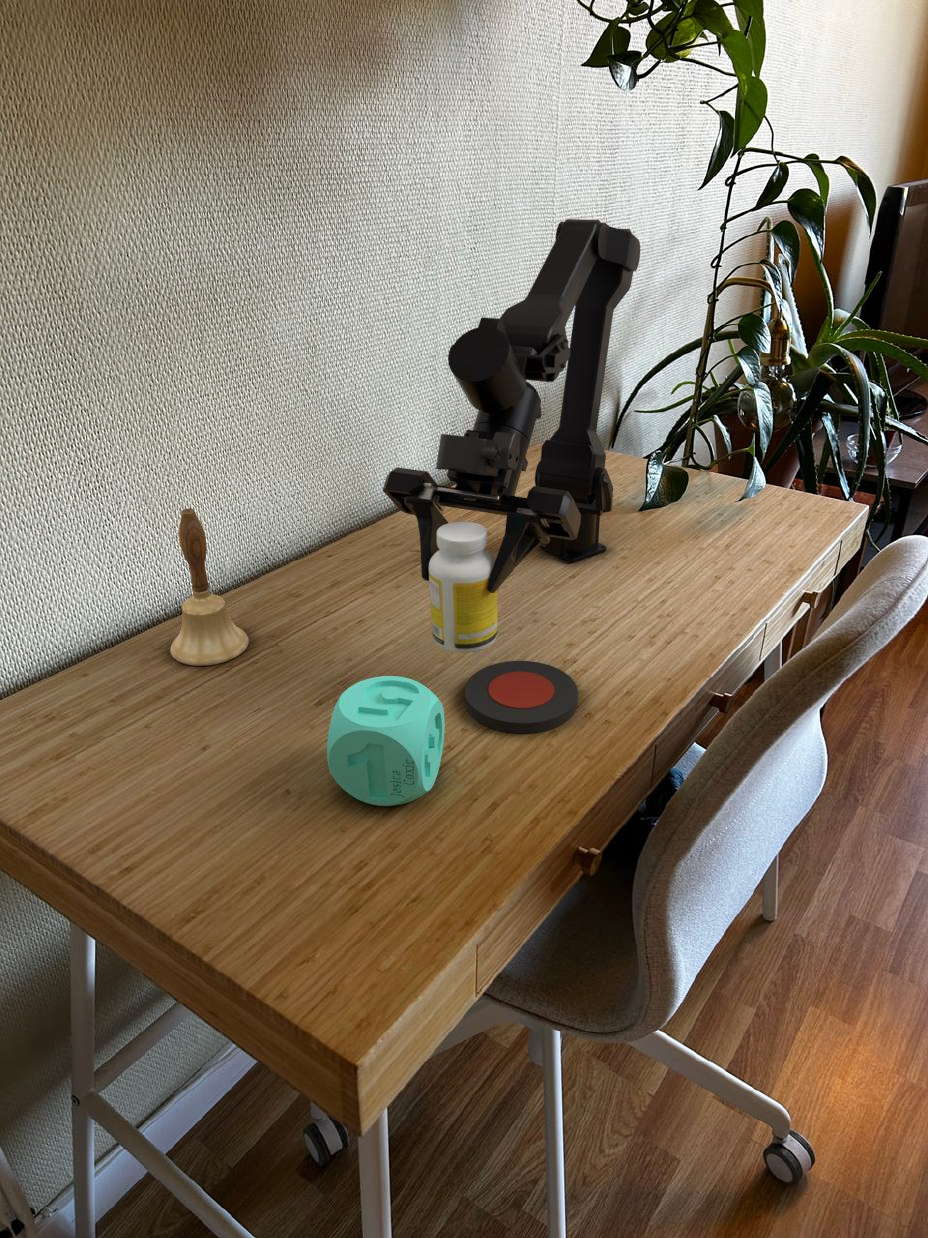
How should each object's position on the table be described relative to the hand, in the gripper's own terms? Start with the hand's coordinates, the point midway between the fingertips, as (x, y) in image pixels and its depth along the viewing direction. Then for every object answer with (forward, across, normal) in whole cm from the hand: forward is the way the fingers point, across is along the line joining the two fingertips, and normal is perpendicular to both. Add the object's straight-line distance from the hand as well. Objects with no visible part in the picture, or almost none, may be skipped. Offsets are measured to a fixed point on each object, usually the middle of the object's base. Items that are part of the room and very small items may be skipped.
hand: (457, 585), depth 86 cm
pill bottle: (+4, 0, +6) cm, 7 cm away
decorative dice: (+19, 0, -3) cm, 19 cm away
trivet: (+8, +6, +8) cm, 13 cm away
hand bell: (+10, -28, +6) cm, 31 cm away
